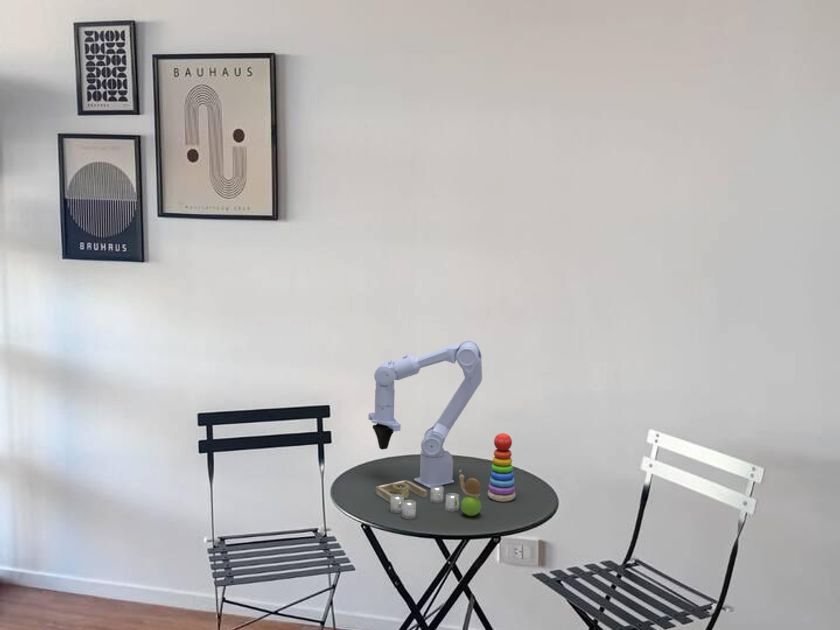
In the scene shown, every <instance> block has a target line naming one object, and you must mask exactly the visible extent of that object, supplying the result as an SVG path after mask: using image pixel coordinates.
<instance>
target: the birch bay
mask: <svg viewBox="0 0 840 630" xmlns="http://www.w3.org/2000/svg"><path fill="white" fill-rule="evenodd" d="M397 483H404V484H408V486H409V491H410V492H412V493H414V494H415V495H417V496H419V497H421V498H423V499H426V498H427V493H428V491H427V490H426V489H425V488H423V487H421V486H419V485H418V484H415V483H414V482H412V481H409V480H408V479H403V480H399V481H396V482H391V483H387V484H382V485H377V486H375V487H374V494H375V495H377V496H378V497H380V498H382V499H383V500H385V501H386V502H388V503H390V499H391V495H393V493H390V492H393V484H397Z"/></svg>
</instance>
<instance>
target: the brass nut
mask: <svg viewBox="0 0 840 630" xmlns="http://www.w3.org/2000/svg"><path fill="white" fill-rule="evenodd" d="M409 491H410V490H409V486H408V484H404V483H397V484H393V491H392V495H393V494H401V495H403V496H404V499H407V498H409V496H410V495H409V494H410V492H409ZM409 499H410V498H409Z"/></svg>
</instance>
